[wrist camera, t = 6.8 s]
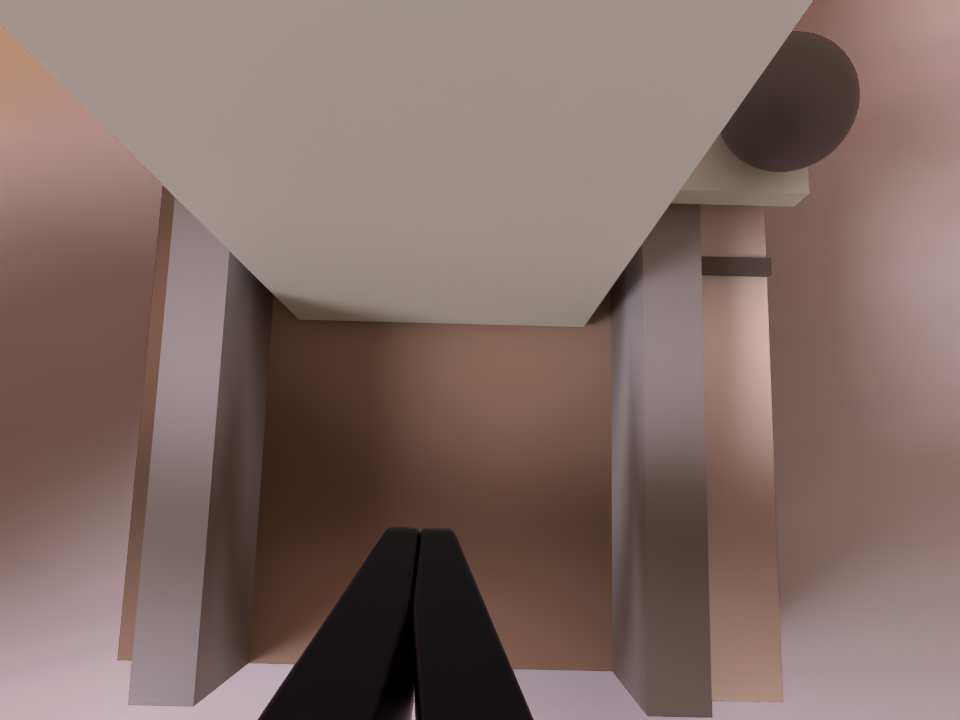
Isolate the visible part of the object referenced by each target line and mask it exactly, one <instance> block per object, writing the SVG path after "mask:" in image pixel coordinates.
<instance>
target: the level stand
mask: <svg viewBox="0 0 960 720" xmlns="http://www.w3.org/2000/svg"><path fill="white" fill-rule="evenodd" d="M769 275H771V258H766V239H765V212H764V206H748V205H712V204H675V203H671V204H670V205H669V206H668V208H667V209H666V211H665V212H664V213H663V215H662V216H661V218H660V219H659V221H658V222H657V223H656V225H655V226H654V228H653V229H652V231H651V232H650V233H649V235H648V236H647V238H646V239H645V240H644V242H643V243H642V245H641V246H640V248H639V249H638V250H637V252H636V253H635V255H634V256H633V258H632V259H631V260H630V262H629V263H628V265H627V266H626V267H625V269H624V270H623V272H622V273H621V275H620V276H619V277H618V279H617V280H616V282H615V283H614V285H613V286H612V287H611V289H610V290H609V292H608V293H607V294H606V296H605V297H604V299H603V300H602V302H601V303H600V304H599V306H598V307H597V309H596V310H595V311H594V313H593V314H592V316H591V317H590V319H589V320H588V321H587V323H586V324H585V326H584V327H561V326H523V325H484V324H446V323H407V322H369V321H330V320H299V319H298V318H297V317H296V316H295V315H294V314H293V313H292V312H291V311H290V310H289V309H288V308H287V307H286V306H285V305H284V304H283V303H282V302H281V301H280V300H279V299H278V298H277V297H276V296H275V295H273V294H272V293H271V292H270V291H269V290H268V289H267V288H266V287H265V286H264V285H263V284H262V283H261V282H260V281H259V280H258V279H257V278H256V277H255V276H254V275H253V274H252V273H251V272H250V271H249V270H248V269H247V268H246V267H245V266H244V265H243V264H242V263H241V262H240V261H239V260H238V259H237V258H236V257H235V256H234V255H233V254H232V253H231V252H230V251H229V250H228V249H227V248H226V247H225V246H224V245H223V244H222V243H221V242H220V241H219V240H218V239H217V238H216V237H215V236H214V235H213V234H212V233H211V232H210V231H209V230H208V229H207V228H206V227H205V226H204V225H203V224H202V223H201V222H200V221H199V220H198V219H197V218H196V217H195V216H194V215H193V214H192V213H191V212H190V211H189V210H188V209H187V208H186V207H184V206H183V205H182V204H181V203H180V202H179V201H178V200H177V199H176V198H175V197H174V196H173V195H172V194H171V193H170V192H169V191H168V190H167V189H166V188H165V187H164V186H163V188H162V198H161V209H160V219H159V230H158V240H157V251H156V261H155V272H154V282H153V293H152V303H151V314H150V324H149V335H148V345H147V356H146V366H145V376H144V387H143V397H142V408H141V418H140V429H139V439H138V450H137V460H136V471H135V481H134V492H133V502H132V513H131V523H130V534H129V544H128V554H127V565H126V575H125V586H124V596H123V607H122V617H121V628H120V638H119V649H118V659H117V660H129V661H132V667H131V678H130V689H129V699H128V705H152V706H194V705H196V704H197V703H198V702H199V701H201V700H202V699H203V698H205V697H206V696H207V695H208V694H210V693H211V692H212V691H213V690H215V689H216V688H217V687H219V686H220V685H221V684H222V683H224V682H225V681H226V680H227V679H229V678H230V677H231V676H233V675H234V674H235V673H236V672H238V671H239V670H240V669H241V668H243V667H244V666H245V665H246V664H248V663H265V664H296V662H297V661H298V659H299V658H300V656H301V655H302V653H303V652H304V650H305V649H306V647H307V646H308V644H309V643H310V641H311V640H312V639H313V637H314V636H315V634H316V633H317V631H318V630H319V628H320V627H321V625H322V624H323V622H324V621H325V619H326V618H327V616H328V615H329V613H330V612H331V610H332V609H333V607H334V606H335V604H336V603H337V601H338V600H339V599H340V597H341V596H342V594H343V593H344V591H345V590H346V588H347V587H348V585H349V584H350V582H351V581H352V579H353V578H354V576H355V575H356V573H357V572H358V570H359V569H360V567H361V566H362V564H363V563H364V561H365V560H366V559H367V557H368V556H369V554H370V553H371V551H372V550H373V548H374V547H375V545H376V544H377V542H378V541H379V539H380V538H381V536H382V535H383V533H384V532H385V531H386V530H387V529H388V528H390V527H413V528H417V529H418V530H419V531H420V534H421V531H422V530H423V529H424V528H449V529H452V530H453V531H454V532H455V534H456V536H457V539H458V541H459V543H460V546H461V548H462V551H463V553H464V555H465V558H466V560H467V562H468V565H469V567H470V570H471V572H472V574H473V577H474V579H475V582H476V584H477V586H478V589H479V591H480V593H481V596H482V598H483V601H484V603H485V605H486V608H487V610H488V613H489V615H490V617H491V620H492V622H493V624H494V627H495V629H496V632H497V634H498V636H499V639H500V641H501V644H502V646H503V648H504V651H505V653H506V655H507V658H508V660H509V663H510V665H511V667H512V669H538V670H583V671H613V672H614V674H615V675H616V676H617V678H618V679H619V680H620V681H621V683H622V684H623V685H624V687H625V688H626V689H627V690H628V692H629V693H630V694H631V696H632V697H633V698H634V699H635V701H636V702H637V703H638V704H639V706H640V707H641V708H642V710H643V711H644V712H645V713H646V715H647V716H663V717H709V718H712V701H754V702H783V687H782V661H781V634H780V608H779V582H778V555H777V529H776V503H775V476H774V450H773V423H772V397H771V371H770V344H769V318H768V292H767V277H768V276H769Z"/></svg>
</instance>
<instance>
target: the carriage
mask: <svg viewBox="0 0 960 720" xmlns="http://www.w3.org/2000/svg"><path fill="white" fill-rule="evenodd" d="M812 2H813V0H0V25H1V26H2V27H3V28H4V29H6V30H7V31H8V32H9V33H10V34H11V35H12V36H13V37H14V38H15V39H16V40H17V41H18V42H19V43H20V44H21V45H22V46H23V47H24V48H25V49H26V50H27V51H28V52H29V53H30V54H31V55H32V56H33V57H34V58H35V59H36V60H37V61H38V62H39V63H40V64H41V65H42V66H43V67H44V68H45V69H46V70H47V71H48V72H49V73H50V74H51V75H52V76H53V77H54V78H55V79H56V80H57V81H58V82H59V83H60V84H61V85H62V86H63V87H64V88H65V89H66V90H67V91H68V92H69V93H70V94H71V95H72V96H73V97H74V98H75V99H76V100H77V101H78V102H79V103H80V104H81V105H82V106H83V107H84V108H85V109H86V110H87V111H88V112H89V113H90V114H91V115H92V116H93V117H94V118H96V119H97V120H98V121H99V122H100V123H101V124H102V125H103V126H104V127H105V128H106V129H107V130H108V131H109V132H110V133H111V134H112V135H113V136H114V137H115V138H116V139H117V140H118V141H119V142H120V143H121V144H122V145H123V146H124V147H125V148H126V149H127V150H128V151H129V152H130V153H131V154H132V155H133V156H134V157H135V158H136V159H137V160H138V161H139V162H140V163H141V164H142V165H143V166H144V167H145V168H146V169H147V170H148V171H149V172H150V173H151V174H152V175H153V176H154V177H155V178H156V179H157V180H158V181H159V182H160V183H161V184H162V185H163V186H164V187H165V188H166V189H167V190H168V191H169V192H170V193H171V194H172V195H173V196H174V197H175V198H176V199H177V200H178V201H179V202H180V203H181V204H182V205H183V206H184V207H186V208H187V209H188V210H189V211H190V212H191V213H192V214H193V215H194V216H195V217H196V218H197V219H198V220H199V221H200V222H201V223H202V224H203V225H204V226H205V227H206V228H207V229H208V230H209V231H210V232H211V233H212V234H213V235H214V236H215V237H216V238H217V239H218V240H219V241H220V242H221V243H222V244H223V245H224V246H225V247H226V248H227V249H228V250H229V251H230V252H231V253H232V254H233V255H234V256H235V257H236V258H237V259H238V260H239V261H240V262H241V263H242V264H243V265H244V266H245V267H246V268H247V269H248V270H249V271H250V272H251V273H252V274H253V275H254V276H255V277H256V278H257V279H258V280H259V281H260V282H261V283H262V284H263V285H264V286H265V287H266V288H267V289H268V290H269V291H270V292H271V293H272V294H273V295H275V296H276V297H277V298H278V299H279V300H280V301H281V302H282V303H283V304H284V305H285V306H286V307H287V308H288V309H289V310H290V311H291V312H292V313H293V314H294V315H295V316H296V317H297V318H298V319H299V320H330V321H369V322H407V323H446V324H484V325H523V326H561V327H584V326H585V324H586V323H587V321H588V320H589V319H590V317H591V316H592V314H593V313H594V311H595V310H596V309H597V307H598V306H599V304H600V303H601V302H602V300H603V299H604V297H605V296H606V294H607V293H608V292H609V290H610V289H611V287H612V286H613V285H614V283H615V282H616V280H617V279H618V277H619V276H620V275H621V273H622V272H623V270H624V269H625V267H626V266H627V265H628V263H629V262H630V260H631V259H632V258H633V256H634V255H635V253H636V252H637V250H638V249H639V248H640V246H641V245H642V243H643V242H644V240H645V239H646V238H647V236H648V235H649V233H650V232H651V231H652V229H653V228H654V226H655V225H656V223H657V222H658V221H659V219H660V218H661V216H662V215H663V213H664V212H665V211H666V209H667V208H668V206H669V205H670V204H671V203H675V204H712V205H748V206H785V207H795V206H796V205H797V204H798V203H799V202H800V201H801V200H803V199H804V198H805V197H806V196H807V195H808V194H810V191H809V170H808V166H810V165H812V164H814V163H817V162H818V161H820V160H822V159H823V158H825V157H826V156H827V155H829V154H830V153H831V152H832V151H833V150H835V149H836V148H837V146H838V145H839V144H840V143H841V142H842V141H843V140H844V138H845V137H846V135H847V134H848V132H849V131H850V129H851V127H852V125H853V123H854V120H855V117H856V114H857V111H858V106H859V93H860V88H859V81H858V77H857V73H856V71H855V68H854V66H853V64H852V62H851V60H850V59H849V57H848V56H847V55H846V53H845V52H844V51H843V50H842V49H841V48H840V47H839V46H837V45H836V44H835V43H834V42H832V41H830V40H829V39H827V38H825V37H823V36H820V35H817V34H814V33H809V32H800V31H792V30H793V29H794V27H795V26H796V25H797V23H798V22H799V20H800V19H801V17H802V16H803V15H804V13H805V12H806V10H807V9H808V8H809V6H810V5H811V3H812Z"/></svg>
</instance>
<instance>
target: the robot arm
mask: <svg viewBox="0 0 960 720" xmlns="http://www.w3.org/2000/svg"><path fill="white" fill-rule="evenodd" d="M414 692H415V719H416V720H533V717H532V715H531V713H530V710H529V708H528V706H527V703H526V701H525V698H524V696H523V694H522V691H521V689H520V686H519V684H518V682H517V679H516V677H515V675H514V672H513V670H512V667H511V665H510V663H509V660H508V658H507V655H506V653H505V651H504V648H503V646H502V644H501V641H500V639H499V636H498V634H497V632H496V629H495V627H494V624H493V622H492V620H491V617H490V615H489V613H488V610H487V608H486V605H485V603H484V601H483V598H482V596H481V593H480V591H479V589H478V586H477V584H476V582H475V579H474V577H473V574H472V572H471V570H470V567H469V565H468V562H467V560H466V558H465V555H464V553H463V551H462V548H461V546H460V543H459V541H458V539H457V536H456V534H455V532H454V531H453V530H452V529H449V528H424V529H423V530H422V531H421V534H420V531H419V530H418V529H417V528H413V527H390V528H388V529H387V530H386V531H385V532H384V533H383V535H382V536H381V538H380V539H379V541H378V542H377V544H376V545H375V547H374V548H373V550H372V551H371V553H370V554H369V556H368V557H367V559H366V560H365V561H364V563H363V564H362V566H361V567H360V569H359V570H358V572H357V573H356V575H355V576H354V578H353V579H352V581H351V582H350V584H349V585H348V587H347V588H346V590H345V591H344V593H343V594H342V596H341V597H340V599H339V600H338V601H337V603H336V604H335V606H334V607H333V609H332V610H331V612H330V613H329V615H328V616H327V618H326V619H325V621H324V622H323V624H322V625H321V627H320V628H319V630H318V631H317V633H316V634H315V636H314V637H313V639H312V640H311V641H310V643H309V644H308V646H307V647H306V649H305V650H304V652H303V653H302V655H301V656H300V658H299V659H298V661H297V662H296V664H295V665H294V667H293V668H292V670H291V671H290V673H289V674H288V676H287V677H286V679H285V680H284V681H283V683H282V684H281V686H280V687H279V689H278V690H277V692H276V693H275V695H274V696H273V698H272V699H271V701H270V702H269V704H268V705H267V707H266V708H265V710H264V711H263V713H262V714H261V716H260V717H259V719H258V720H411V716H412V709H413V703H414Z"/></svg>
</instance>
